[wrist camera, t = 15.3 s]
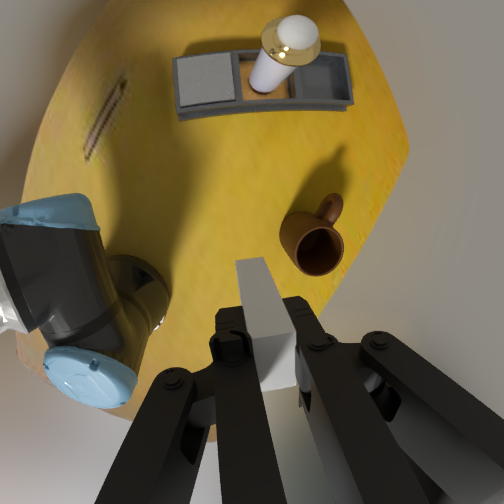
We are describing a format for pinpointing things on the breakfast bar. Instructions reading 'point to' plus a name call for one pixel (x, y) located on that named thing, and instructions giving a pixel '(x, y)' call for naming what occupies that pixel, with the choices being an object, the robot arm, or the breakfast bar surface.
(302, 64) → the perfume bottle
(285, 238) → the mug
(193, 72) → the rack
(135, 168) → the breakfast bar surface
